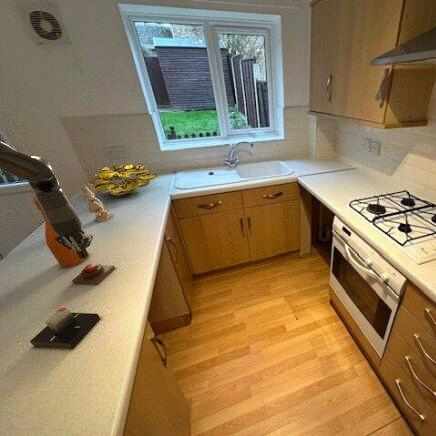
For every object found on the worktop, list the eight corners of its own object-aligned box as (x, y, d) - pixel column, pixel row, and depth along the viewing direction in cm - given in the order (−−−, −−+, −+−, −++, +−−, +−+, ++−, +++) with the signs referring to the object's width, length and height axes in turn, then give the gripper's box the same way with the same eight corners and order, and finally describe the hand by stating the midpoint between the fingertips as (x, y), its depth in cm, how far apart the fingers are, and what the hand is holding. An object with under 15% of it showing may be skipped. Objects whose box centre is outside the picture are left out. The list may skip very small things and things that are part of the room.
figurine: (96, 218, 139) (80, 185, 129) (113, 214, 142) (99, 182, 132) (93, 224, 132) (76, 191, 122) (111, 221, 135) (96, 187, 125)
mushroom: (96, 211, 147) (83, 184, 139) (92, 191, 178) (82, 168, 170) (166, 193, 169) (159, 169, 161) (152, 178, 200) (145, 157, 192)
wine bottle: (74, 269, 98) (34, 203, 84) (54, 268, 100) (12, 202, 85) (95, 255, 107) (62, 193, 92) (76, 253, 108) (41, 192, 94)
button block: (74, 284, 90) (69, 276, 88) (93, 269, 98) (88, 261, 96) (98, 285, 90) (94, 277, 88) (116, 269, 97) (112, 261, 96)
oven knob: (60, 334, 68) (50, 321, 66) (54, 334, 68) (44, 321, 66) (75, 319, 73) (67, 307, 70) (69, 319, 73) (60, 306, 70)
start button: (83, 272, 91) (81, 269, 90) (91, 266, 94) (89, 263, 93) (92, 273, 90) (90, 269, 90) (99, 266, 94) (98, 263, 93)
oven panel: (35, 348, 68) (29, 341, 67) (66, 318, 77) (61, 311, 75) (74, 350, 67) (68, 343, 66) (101, 320, 76) (97, 313, 74)
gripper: (33, 222, 78) (59, 263, 87) (70, 222, 77) (93, 264, 86) (54, 211, 85) (76, 251, 93) (89, 212, 84) (108, 252, 92)
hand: (84, 257), depth 89 cm, fingers closed
